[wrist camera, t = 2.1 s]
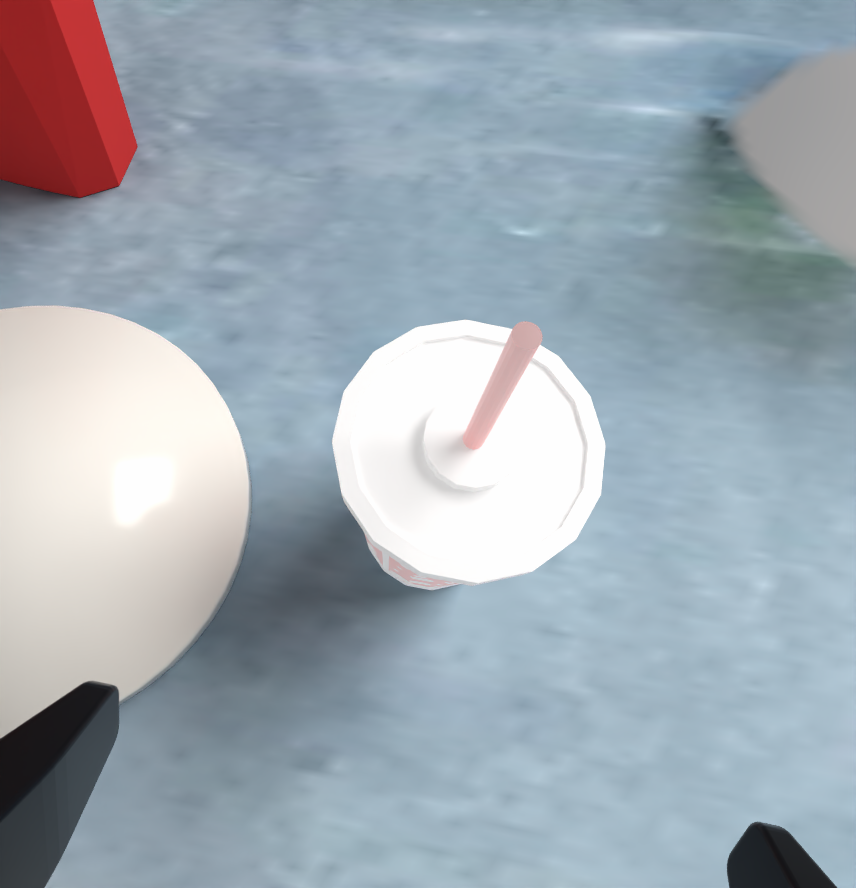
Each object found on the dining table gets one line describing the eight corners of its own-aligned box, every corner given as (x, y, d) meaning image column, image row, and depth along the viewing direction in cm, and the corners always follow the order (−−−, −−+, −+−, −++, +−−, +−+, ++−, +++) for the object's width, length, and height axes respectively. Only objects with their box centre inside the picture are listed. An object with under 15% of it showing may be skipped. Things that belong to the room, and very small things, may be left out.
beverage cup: (550, 523, 23) (800, 343, 10) (432, 652, 22) (550, 639, 8) (427, 408, 24) (509, 106, 11) (304, 523, 22) (227, 327, 9)
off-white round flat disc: (264, 701, 21) (258, 703, 19) (-237, 777, 19) (-275, 784, 18) (241, 309, 25) (235, 292, 24) (-169, 337, 23) (-197, 320, 22)
